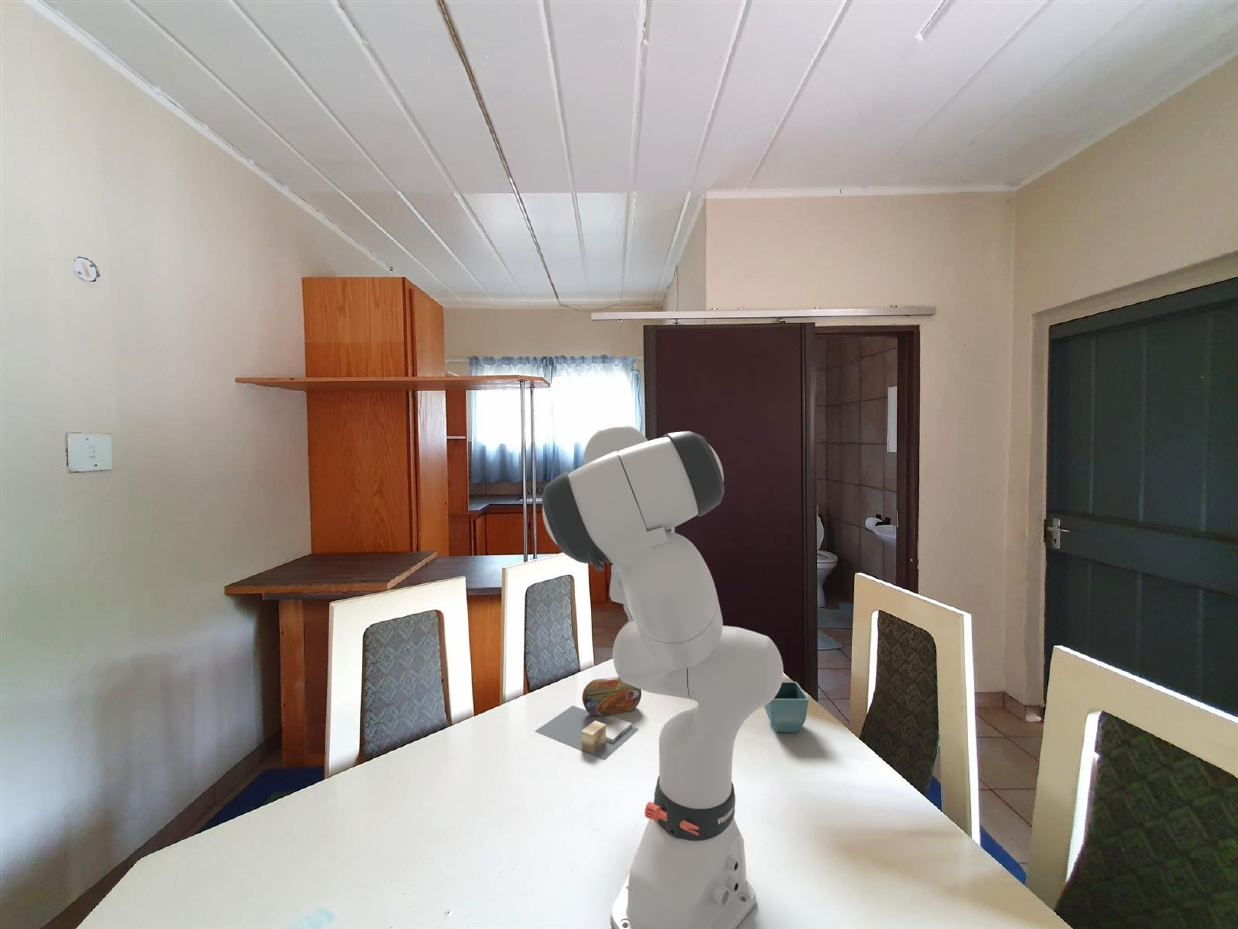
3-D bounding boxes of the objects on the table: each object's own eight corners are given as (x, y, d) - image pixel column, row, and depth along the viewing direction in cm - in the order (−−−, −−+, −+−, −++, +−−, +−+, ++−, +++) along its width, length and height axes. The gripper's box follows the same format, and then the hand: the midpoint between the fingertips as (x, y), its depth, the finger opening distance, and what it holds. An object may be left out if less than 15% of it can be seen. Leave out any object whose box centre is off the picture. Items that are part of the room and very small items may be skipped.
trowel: (598, 755, 107) (598, 737, 107) (576, 746, 110) (576, 728, 110) (631, 726, 118) (631, 709, 118) (611, 719, 121) (610, 703, 121)
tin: (583, 719, 121) (584, 684, 121) (580, 713, 124) (581, 679, 124) (641, 711, 126) (642, 677, 126) (637, 705, 129) (638, 672, 129)
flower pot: (809, 738, 113) (809, 699, 113) (770, 737, 114) (770, 699, 113) (796, 717, 122) (796, 681, 122) (760, 717, 122) (760, 681, 122)
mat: (604, 762, 105) (604, 760, 105) (534, 732, 116) (534, 731, 116) (639, 730, 117) (639, 729, 117) (572, 707, 128) (572, 705, 128)
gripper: (603, 561, 110) (604, 623, 111) (686, 575, 98) (686, 643, 99) (619, 556, 115) (620, 615, 116) (700, 568, 103) (700, 633, 104)
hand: (651, 628), depth 107 cm, fingers open, 8 cm apart
